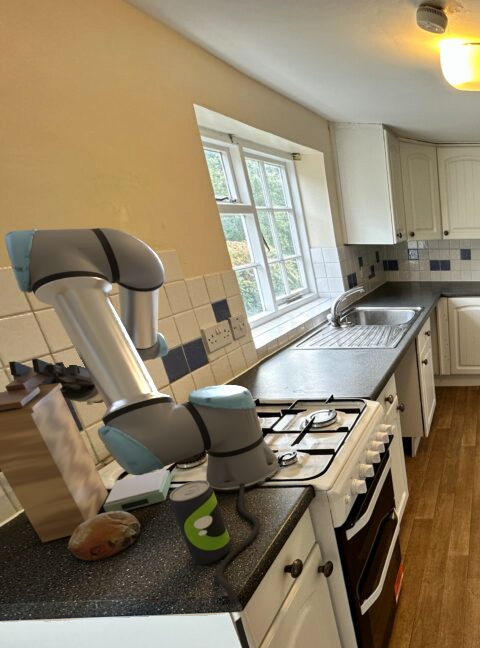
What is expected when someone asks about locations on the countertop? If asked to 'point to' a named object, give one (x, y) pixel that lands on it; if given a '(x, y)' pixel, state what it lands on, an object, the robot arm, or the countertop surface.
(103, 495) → the stand
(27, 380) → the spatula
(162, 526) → the countertop surface
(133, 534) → the bread roll
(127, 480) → the scale
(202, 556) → the beverage can
